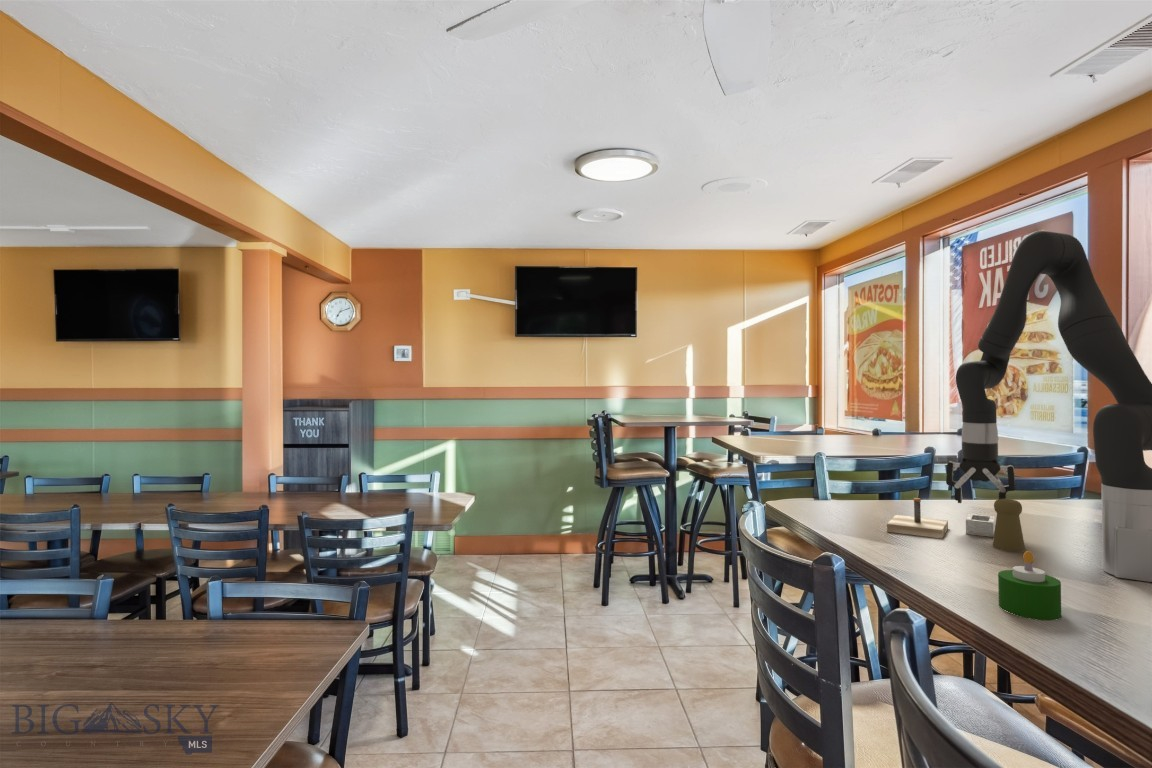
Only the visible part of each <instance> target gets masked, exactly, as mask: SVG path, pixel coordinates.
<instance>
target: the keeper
mask: <svg viewBox="0 0 1152 768" xmlns="http://www.w3.org/2000/svg"><path fill="white" fill-rule="evenodd" d="M913 511H914V512H913V513H914V514H913V516H909V515H900V514H895V515H894V516H893V517H892V518H891V519H890V520H889V521H888V522H887V523H886V532H889V533H896V534H904V535H911V536H912V535H913V536H919V537H920V536H921V537H929V538H936V539H943V537H944V536H945V534H946V532H947V531H948V528H949V520H947V519H946V520H945V519H938V518H928V517H922V516H921V498H919V497H913Z"/></svg>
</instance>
